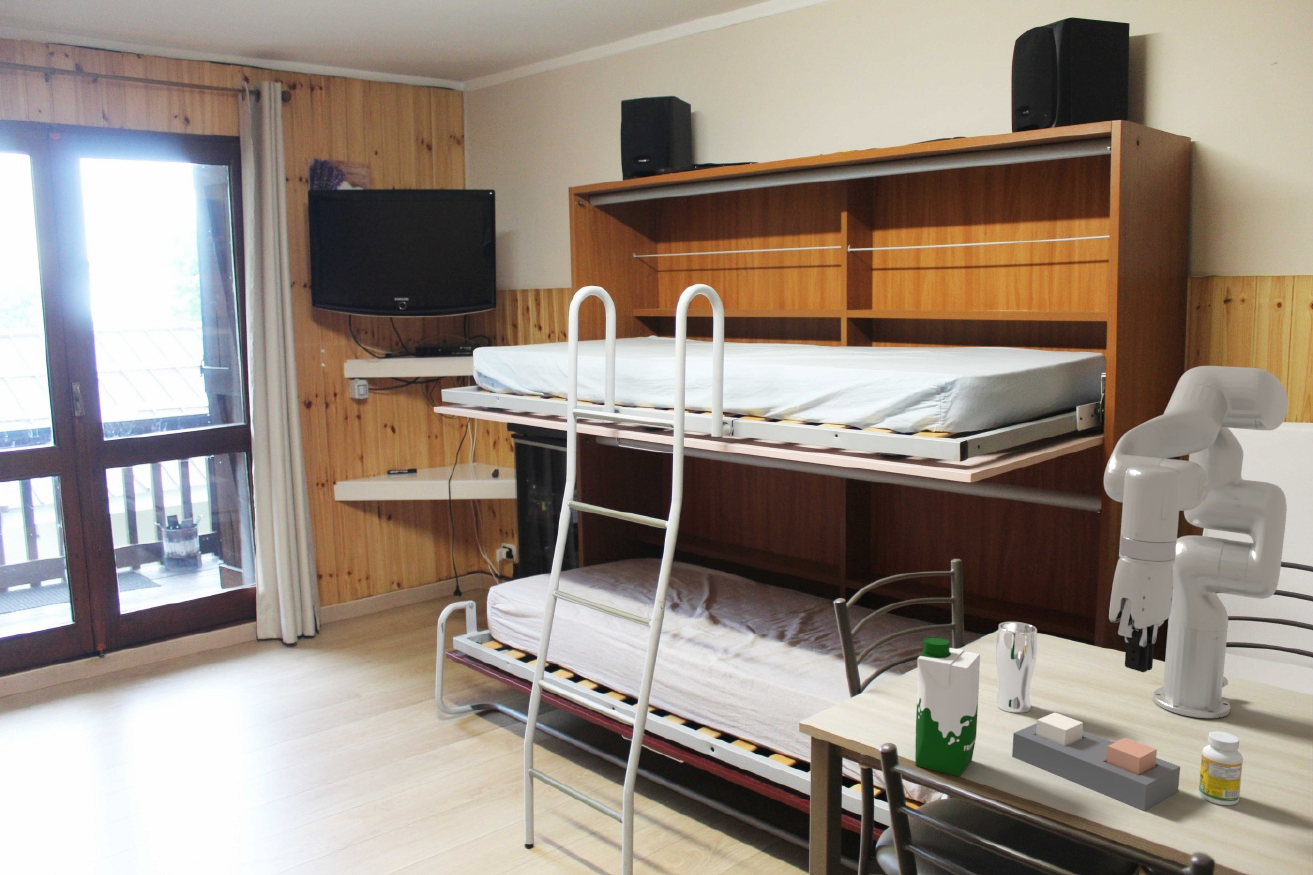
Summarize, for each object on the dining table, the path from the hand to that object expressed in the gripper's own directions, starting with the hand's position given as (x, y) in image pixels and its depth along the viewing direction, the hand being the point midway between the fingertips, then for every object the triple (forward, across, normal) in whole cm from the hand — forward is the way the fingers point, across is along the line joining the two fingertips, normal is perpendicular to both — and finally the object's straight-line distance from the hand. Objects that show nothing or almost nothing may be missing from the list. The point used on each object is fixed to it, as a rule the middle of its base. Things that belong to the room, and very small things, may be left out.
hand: (1138, 668), depth 154 cm
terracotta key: (+16, 0, 0) cm, 16 cm away
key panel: (+19, 0, -6) cm, 20 cm away
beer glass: (+19, -13, -29) cm, 37 cm away
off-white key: (+16, 0, -12) cm, 20 cm away
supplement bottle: (+19, -8, +10) cm, 23 cm away
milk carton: (+19, +16, -22) cm, 33 cm away
